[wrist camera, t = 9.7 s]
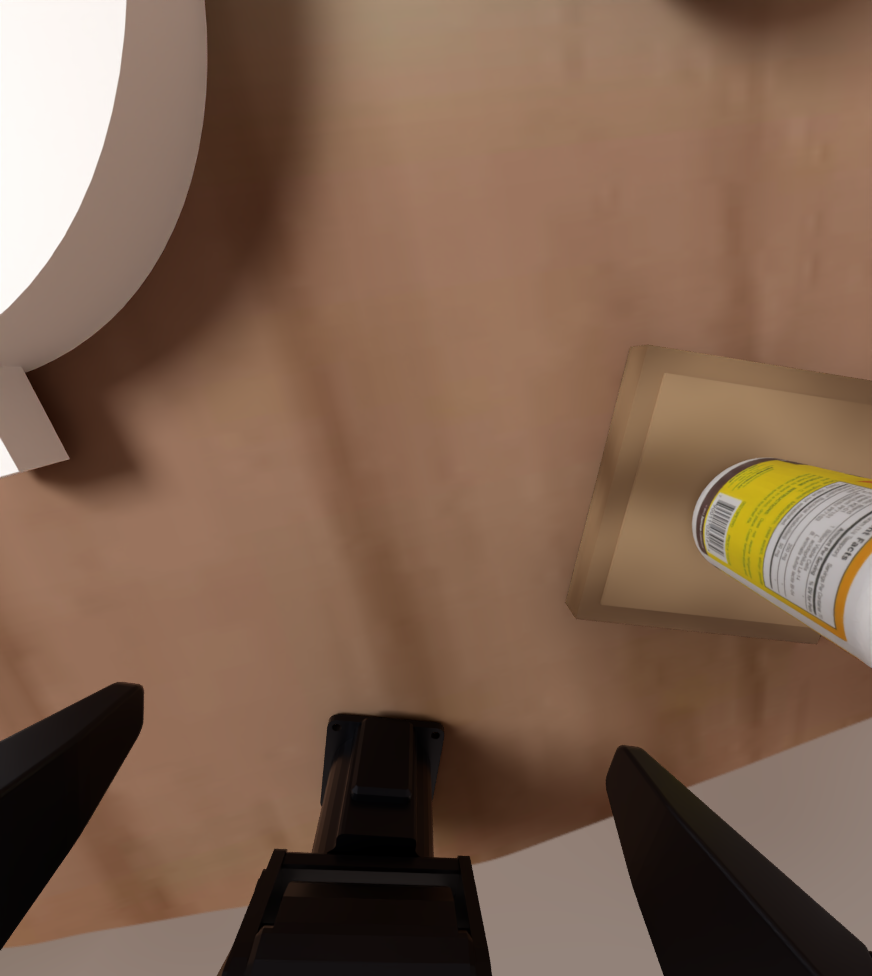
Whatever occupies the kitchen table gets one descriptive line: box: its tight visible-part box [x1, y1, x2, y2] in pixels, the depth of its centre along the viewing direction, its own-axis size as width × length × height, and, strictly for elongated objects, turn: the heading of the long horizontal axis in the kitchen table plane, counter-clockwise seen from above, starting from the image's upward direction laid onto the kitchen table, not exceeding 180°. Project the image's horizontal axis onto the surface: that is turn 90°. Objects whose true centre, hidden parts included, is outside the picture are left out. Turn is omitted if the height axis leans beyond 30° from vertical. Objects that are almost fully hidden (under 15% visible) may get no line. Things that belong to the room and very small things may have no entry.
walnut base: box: [566, 345, 872, 644], centre depth 20 cm, size 13×13×2 cm
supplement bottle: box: [692, 458, 872, 668], centre depth 14 cm, size 6×6×10 cm
